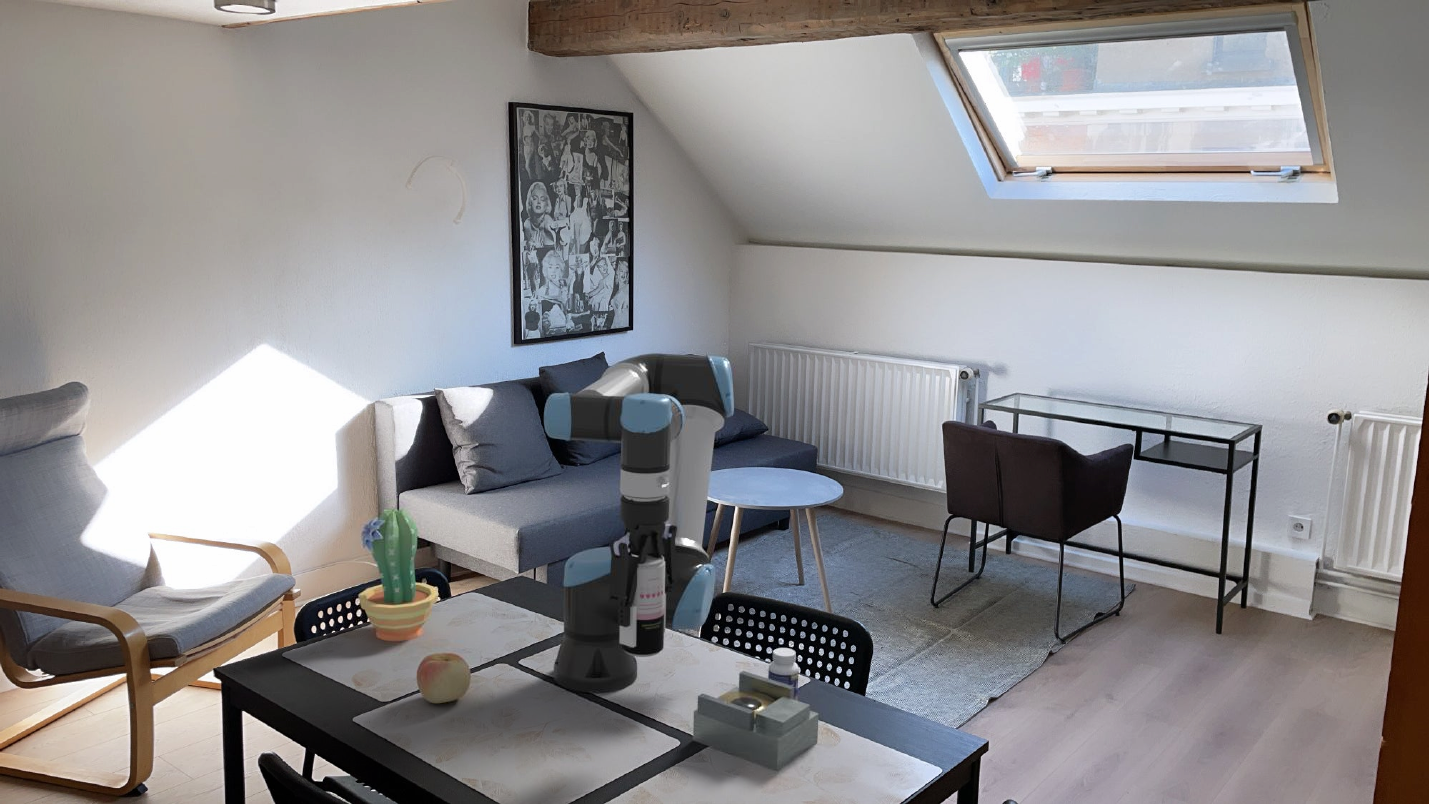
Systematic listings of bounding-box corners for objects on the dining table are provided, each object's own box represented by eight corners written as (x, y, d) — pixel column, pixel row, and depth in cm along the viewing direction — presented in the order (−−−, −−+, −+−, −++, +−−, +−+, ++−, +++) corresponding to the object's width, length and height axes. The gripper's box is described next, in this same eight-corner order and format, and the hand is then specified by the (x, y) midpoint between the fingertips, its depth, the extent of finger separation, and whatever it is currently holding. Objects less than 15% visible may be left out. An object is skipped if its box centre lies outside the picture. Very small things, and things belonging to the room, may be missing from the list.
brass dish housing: (691, 741, 177) (692, 694, 175) (737, 714, 187) (738, 669, 186) (775, 772, 167) (777, 722, 166) (818, 741, 178) (820, 694, 176)
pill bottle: (795, 708, 190) (797, 659, 188) (765, 704, 191) (766, 656, 189) (799, 695, 195) (801, 647, 193) (769, 692, 196) (771, 644, 194)
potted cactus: (367, 619, 226) (364, 500, 221) (444, 618, 227) (442, 500, 223) (351, 648, 210) (347, 521, 206) (433, 646, 212) (431, 521, 208)
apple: (408, 700, 189) (407, 655, 187) (452, 685, 195) (451, 642, 194) (436, 716, 183) (436, 670, 182) (481, 700, 189) (481, 656, 188)
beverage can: (616, 644, 175) (617, 554, 172) (655, 639, 178) (656, 549, 175) (629, 660, 169) (630, 566, 166) (669, 654, 172) (671, 562, 169)
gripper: (622, 512, 159) (620, 663, 163) (702, 487, 175) (698, 625, 179) (583, 503, 163) (582, 650, 167) (665, 479, 179) (662, 614, 183)
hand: (642, 637), depth 173 cm, fingers closed on beverage can, 6 cm apart
